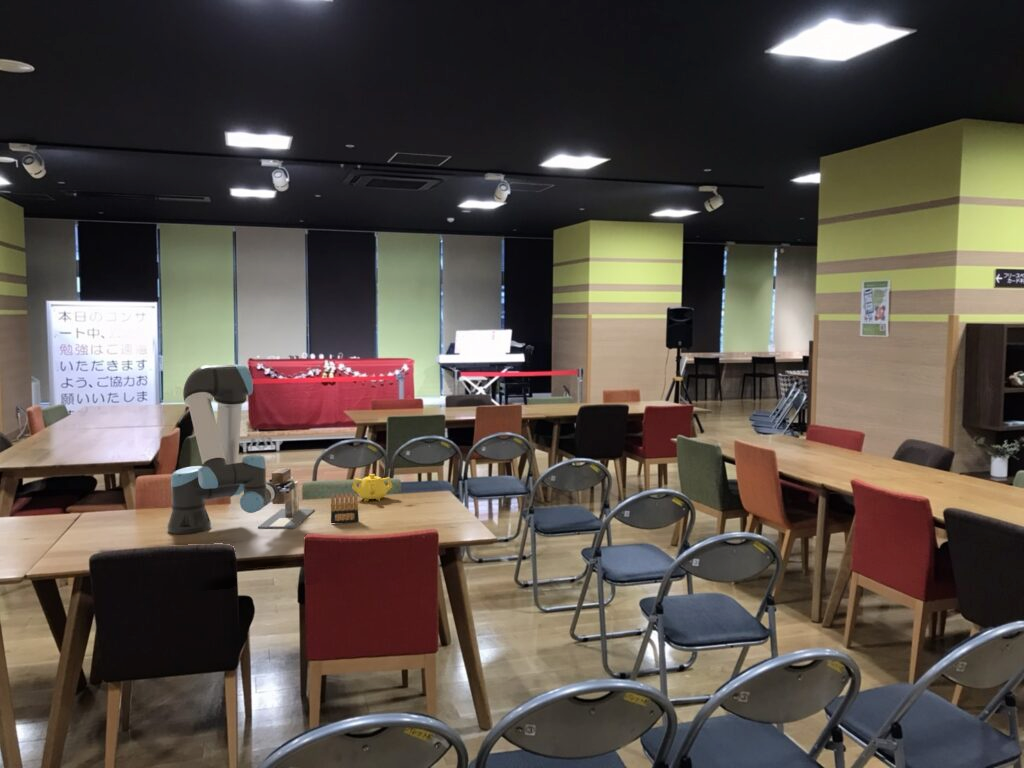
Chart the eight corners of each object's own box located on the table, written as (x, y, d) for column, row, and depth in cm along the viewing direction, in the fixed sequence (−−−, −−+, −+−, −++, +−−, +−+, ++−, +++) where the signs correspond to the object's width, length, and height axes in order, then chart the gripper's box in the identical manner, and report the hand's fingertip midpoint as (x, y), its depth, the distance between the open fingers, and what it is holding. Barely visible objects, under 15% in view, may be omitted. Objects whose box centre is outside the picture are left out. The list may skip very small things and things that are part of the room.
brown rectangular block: (272, 504, 293) (271, 473, 292) (281, 497, 303) (280, 468, 302) (283, 504, 293) (282, 473, 292) (292, 497, 303) (291, 468, 302)
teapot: (352, 494, 348) (352, 470, 347) (392, 493, 351) (391, 469, 350) (351, 505, 328) (350, 479, 327) (393, 503, 332) (393, 478, 331)
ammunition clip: (358, 521, 303) (357, 491, 302) (358, 522, 301) (358, 492, 300) (330, 523, 300) (330, 493, 299) (331, 524, 298) (330, 494, 297)
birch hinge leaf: (290, 517, 306) (290, 485, 305) (284, 517, 306) (283, 485, 305) (300, 509, 318) (299, 479, 317) (294, 509, 318) (293, 479, 317)
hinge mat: (294, 528, 292) (294, 526, 292) (257, 528, 293) (257, 526, 293) (314, 510, 320) (314, 508, 320) (281, 510, 320) (281, 508, 320)
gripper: (241, 503, 279) (264, 490, 303) (289, 503, 279) (308, 490, 302) (241, 483, 279) (263, 471, 302) (288, 483, 278) (307, 471, 301)
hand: (286, 480), depth 302 cm, fingers closed on brown rectangular block, 4 cm apart
